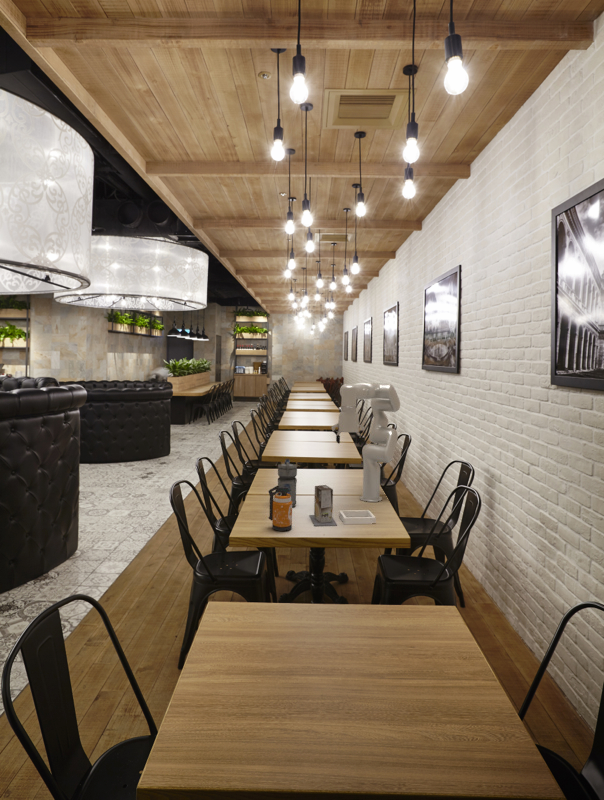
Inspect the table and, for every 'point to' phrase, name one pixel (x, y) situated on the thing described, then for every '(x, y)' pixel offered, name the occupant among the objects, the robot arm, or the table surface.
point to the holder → (357, 517)
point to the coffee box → (323, 503)
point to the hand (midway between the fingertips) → (347, 443)
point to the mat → (317, 523)
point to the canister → (280, 508)
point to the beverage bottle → (288, 478)
